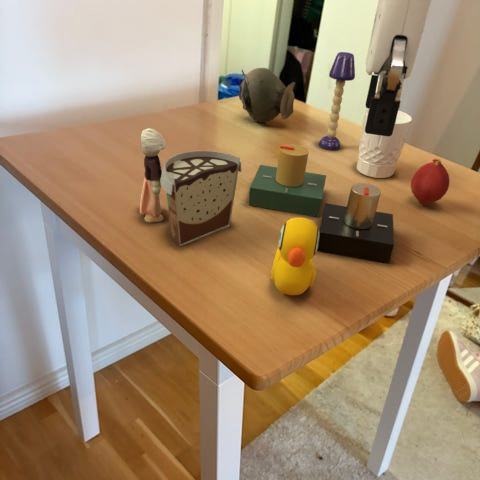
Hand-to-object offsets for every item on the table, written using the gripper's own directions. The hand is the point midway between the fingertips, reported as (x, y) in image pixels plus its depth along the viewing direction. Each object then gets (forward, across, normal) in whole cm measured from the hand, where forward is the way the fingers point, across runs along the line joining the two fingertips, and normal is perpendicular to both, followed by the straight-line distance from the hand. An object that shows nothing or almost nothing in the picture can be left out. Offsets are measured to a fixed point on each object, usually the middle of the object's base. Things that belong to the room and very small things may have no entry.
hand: (377, 120), depth 66 cm
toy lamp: (+17, -35, -5) cm, 39 cm away
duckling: (+17, +15, -7) cm, 24 cm away
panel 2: (+17, +1, 0) cm, 17 cm away
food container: (+17, +5, -23) cm, 29 cm away
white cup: (+17, -26, +4) cm, 31 cm away
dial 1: (+14, -9, -10) cm, 20 cm away
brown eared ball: (+17, -43, -20) cm, 51 cm away
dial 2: (+14, +1, +1) cm, 14 cm away
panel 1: (+17, -9, -10) cm, 22 cm away
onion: (+17, -15, +12) cm, 26 cm away
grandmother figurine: (+17, +4, -29) cm, 33 cm away
